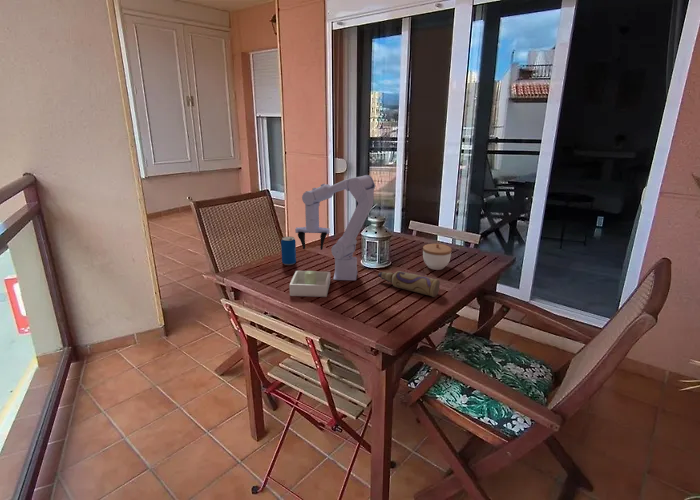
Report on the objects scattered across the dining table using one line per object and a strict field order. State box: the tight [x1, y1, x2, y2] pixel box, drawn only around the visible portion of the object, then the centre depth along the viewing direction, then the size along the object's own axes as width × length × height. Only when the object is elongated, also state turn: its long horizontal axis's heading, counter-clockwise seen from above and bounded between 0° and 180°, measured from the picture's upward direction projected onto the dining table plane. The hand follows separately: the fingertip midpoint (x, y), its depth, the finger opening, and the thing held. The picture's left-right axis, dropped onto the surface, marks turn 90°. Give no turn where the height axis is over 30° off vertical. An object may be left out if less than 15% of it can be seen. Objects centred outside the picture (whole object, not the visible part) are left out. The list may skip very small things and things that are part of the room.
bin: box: [289, 270, 331, 298], centre depth 156 cm, size 14×14×5 cm
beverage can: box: [280, 236, 297, 266], centre depth 181 cm, size 6×6×12 cm
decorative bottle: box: [377, 270, 441, 298], centre depth 158 cm, size 26×8×7 cm, turn 55°
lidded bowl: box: [422, 242, 453, 271], centre depth 179 cm, size 13×13×11 cm
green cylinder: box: [305, 270, 316, 285], centre depth 156 cm, size 4×4×6 cm
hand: (312, 248), depth 174 cm, fingers open, 7 cm apart
